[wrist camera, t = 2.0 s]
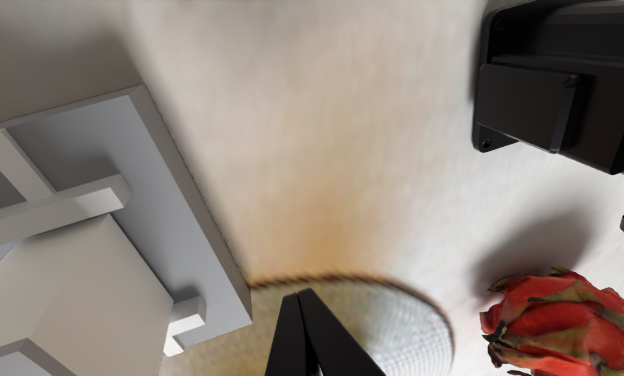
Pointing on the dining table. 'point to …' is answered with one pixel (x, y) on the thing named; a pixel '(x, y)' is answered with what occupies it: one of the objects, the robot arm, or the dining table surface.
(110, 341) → the fader knob
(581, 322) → the dragon fruit
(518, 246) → the dining table surface
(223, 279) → the fader console
